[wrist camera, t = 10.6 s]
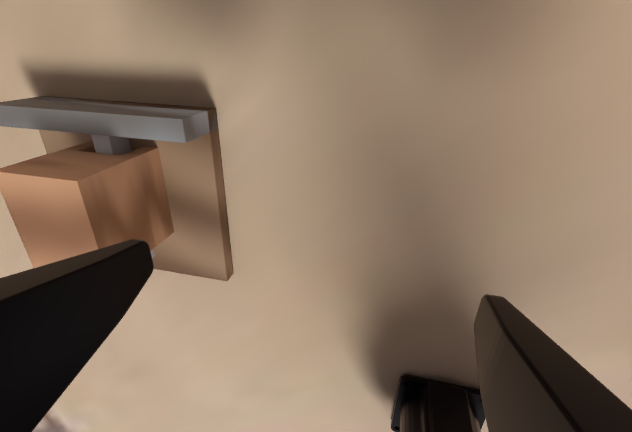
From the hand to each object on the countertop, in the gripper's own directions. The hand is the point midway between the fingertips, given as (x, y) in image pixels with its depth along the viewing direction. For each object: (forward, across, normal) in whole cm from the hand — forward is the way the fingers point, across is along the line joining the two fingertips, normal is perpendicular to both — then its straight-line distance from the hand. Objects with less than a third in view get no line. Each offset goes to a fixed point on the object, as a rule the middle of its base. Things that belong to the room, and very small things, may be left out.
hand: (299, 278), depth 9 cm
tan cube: (+11, +15, +4) cm, 19 cm away
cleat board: (+12, +15, +4) cm, 19 cm away
